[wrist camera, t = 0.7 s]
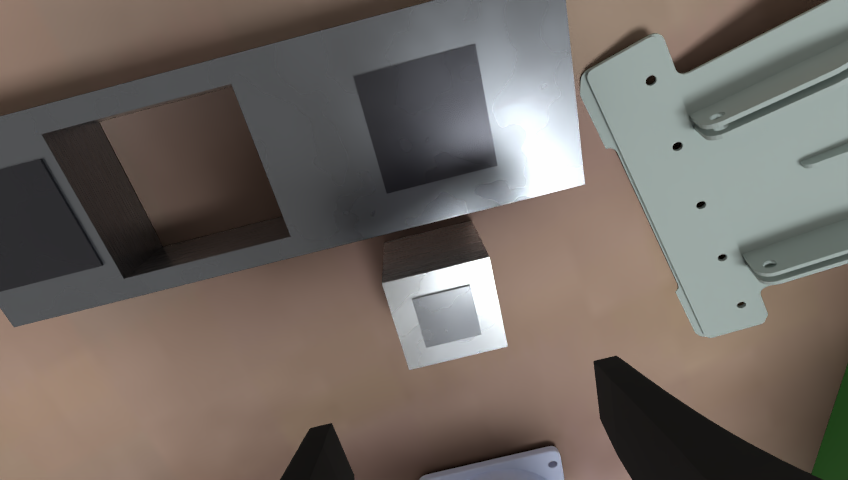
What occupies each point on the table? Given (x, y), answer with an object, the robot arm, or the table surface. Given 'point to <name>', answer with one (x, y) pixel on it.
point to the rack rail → (300, 149)
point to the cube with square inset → (442, 295)
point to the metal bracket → (736, 159)
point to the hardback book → (835, 440)
